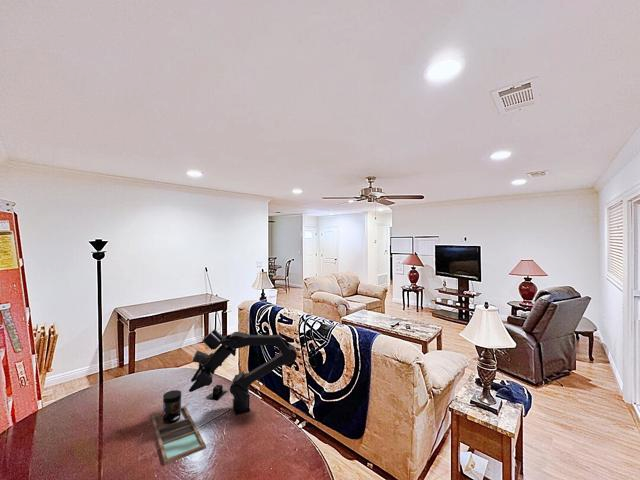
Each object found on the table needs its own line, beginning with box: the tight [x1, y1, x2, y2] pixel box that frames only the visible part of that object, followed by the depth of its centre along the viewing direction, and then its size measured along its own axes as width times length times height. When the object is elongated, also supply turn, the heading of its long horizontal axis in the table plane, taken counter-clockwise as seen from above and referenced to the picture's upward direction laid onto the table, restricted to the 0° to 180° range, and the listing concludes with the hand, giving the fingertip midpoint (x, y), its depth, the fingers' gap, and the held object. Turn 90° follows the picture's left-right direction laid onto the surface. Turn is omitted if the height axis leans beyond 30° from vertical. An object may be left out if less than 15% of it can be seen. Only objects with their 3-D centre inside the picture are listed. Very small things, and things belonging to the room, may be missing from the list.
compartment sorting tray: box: [150, 406, 207, 466], centre depth 108 cm, size 31×13×1 cm, turn 38°
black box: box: [207, 384, 228, 402], centre depth 136 cm, size 12×7×5 cm, turn 169°
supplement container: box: [161, 389, 182, 425], centre depth 116 cm, size 7×7×10 cm
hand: (190, 386), depth 119 cm, fingers open, 9 cm apart
